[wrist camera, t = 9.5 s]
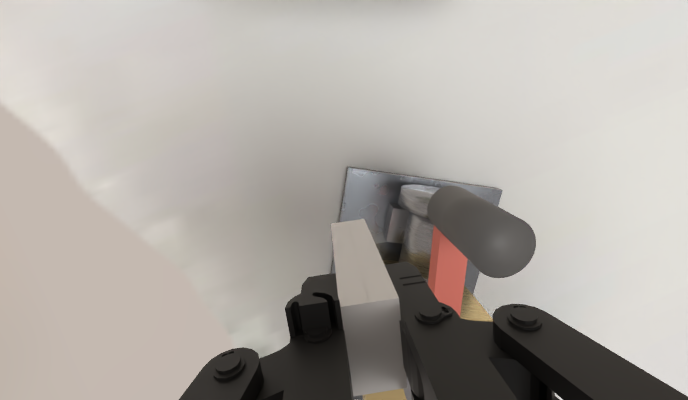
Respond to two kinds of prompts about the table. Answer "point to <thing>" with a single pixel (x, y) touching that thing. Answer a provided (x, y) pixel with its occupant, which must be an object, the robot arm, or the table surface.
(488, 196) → the valve assembly
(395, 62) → the table surface
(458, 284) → the lever
